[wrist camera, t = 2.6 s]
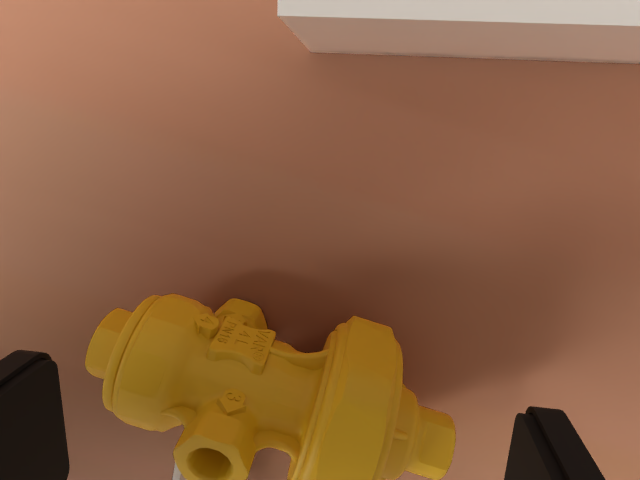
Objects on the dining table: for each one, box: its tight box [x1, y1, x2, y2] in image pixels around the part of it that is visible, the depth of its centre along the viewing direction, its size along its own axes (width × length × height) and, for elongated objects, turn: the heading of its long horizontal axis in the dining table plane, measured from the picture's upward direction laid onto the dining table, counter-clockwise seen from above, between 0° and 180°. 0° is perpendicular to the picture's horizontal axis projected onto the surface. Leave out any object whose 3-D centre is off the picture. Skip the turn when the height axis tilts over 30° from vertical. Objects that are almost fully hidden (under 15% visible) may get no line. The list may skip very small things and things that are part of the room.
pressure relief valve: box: [85, 293, 456, 480], centre depth 15 cm, size 6×12×10 cm
